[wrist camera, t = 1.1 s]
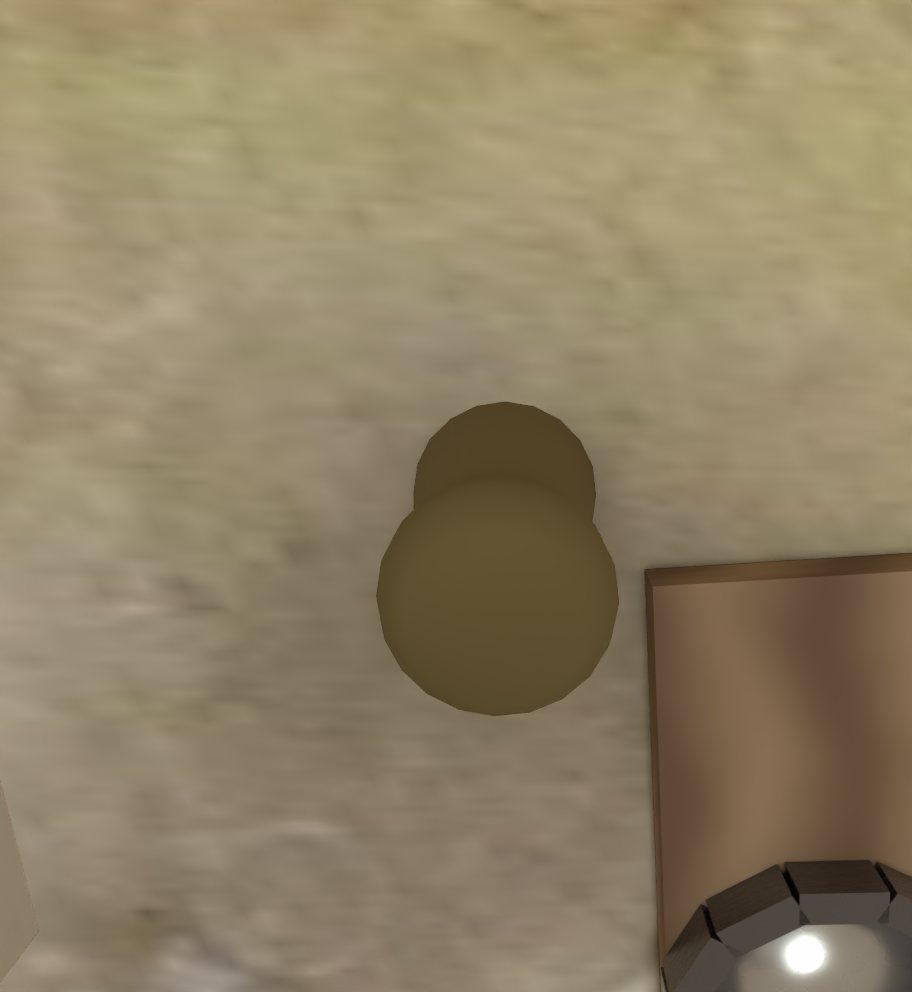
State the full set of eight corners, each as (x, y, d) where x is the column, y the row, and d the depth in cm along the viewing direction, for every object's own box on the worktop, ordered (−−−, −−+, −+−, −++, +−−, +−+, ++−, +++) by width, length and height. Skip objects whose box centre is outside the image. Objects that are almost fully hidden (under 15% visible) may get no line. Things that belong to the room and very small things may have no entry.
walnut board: (663, 1084, 31) (671, 1125, 30) (645, 569, 26) (652, 586, 25) (951, 1085, 30) (974, 1127, 29) (991, 548, 25) (1022, 564, 24)
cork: (389, 433, 26) (298, 529, 15) (566, 377, 25) (602, 436, 14) (446, 598, 27) (399, 793, 16) (617, 550, 26) (685, 723, 16)
